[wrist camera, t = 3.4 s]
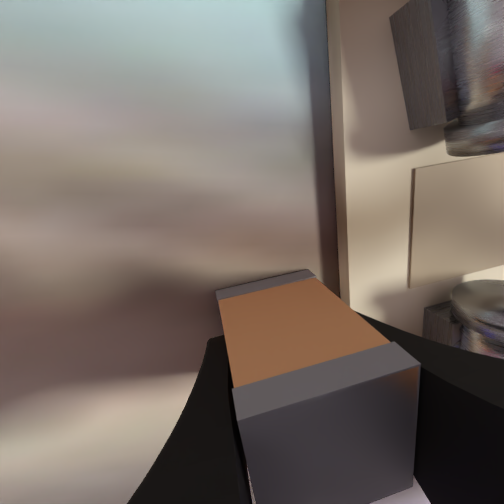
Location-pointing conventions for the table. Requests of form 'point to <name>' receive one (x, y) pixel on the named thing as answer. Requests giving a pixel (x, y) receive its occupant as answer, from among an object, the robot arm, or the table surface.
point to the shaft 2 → (469, 318)
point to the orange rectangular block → (317, 394)
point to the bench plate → (401, 183)
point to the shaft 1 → (453, 70)
